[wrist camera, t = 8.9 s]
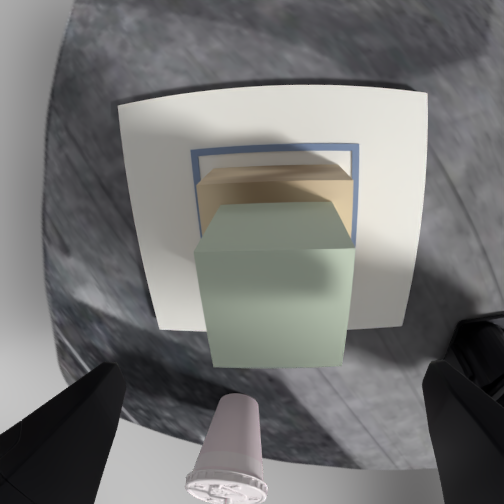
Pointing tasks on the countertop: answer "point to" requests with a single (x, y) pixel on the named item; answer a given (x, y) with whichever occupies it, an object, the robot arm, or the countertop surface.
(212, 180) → the maple block
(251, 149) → the white mat
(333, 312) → the sage block
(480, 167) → the countertop surface
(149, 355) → the countertop surface
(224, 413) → the smoothie
